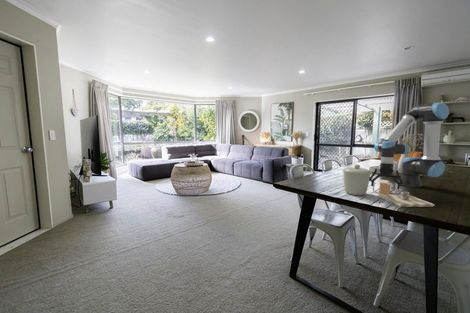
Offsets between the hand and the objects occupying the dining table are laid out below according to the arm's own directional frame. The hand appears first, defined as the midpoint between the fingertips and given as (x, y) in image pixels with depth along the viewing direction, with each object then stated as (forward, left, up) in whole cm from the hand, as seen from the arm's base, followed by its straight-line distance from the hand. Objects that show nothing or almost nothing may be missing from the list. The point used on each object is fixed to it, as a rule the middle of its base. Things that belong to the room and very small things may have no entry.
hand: (384, 191), depth 159 cm
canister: (+22, +2, -1) cm, 22 cm away
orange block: (0, 0, -1) cm, 1 cm away
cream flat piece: (0, +19, -1) cm, 19 cm away
